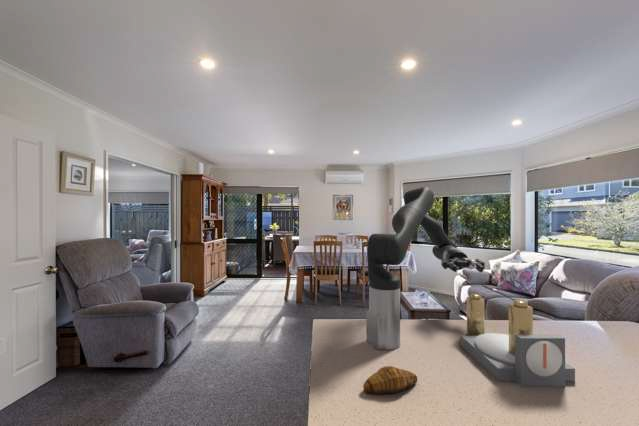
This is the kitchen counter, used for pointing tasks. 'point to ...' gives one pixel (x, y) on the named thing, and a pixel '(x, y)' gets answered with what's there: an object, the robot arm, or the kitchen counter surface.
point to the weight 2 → (519, 321)
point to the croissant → (389, 380)
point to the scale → (522, 358)
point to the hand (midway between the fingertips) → (468, 269)
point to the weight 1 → (475, 315)
